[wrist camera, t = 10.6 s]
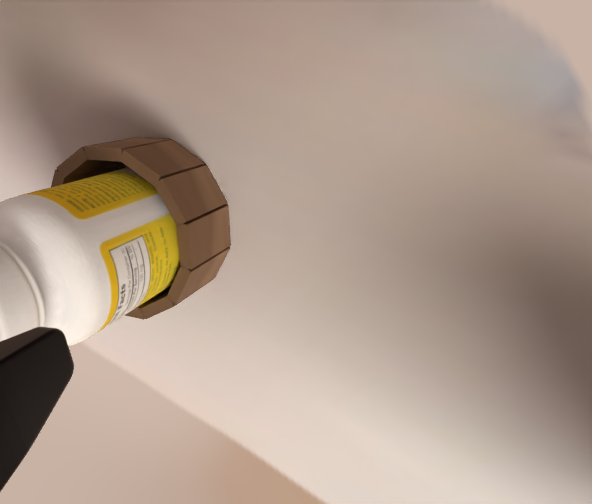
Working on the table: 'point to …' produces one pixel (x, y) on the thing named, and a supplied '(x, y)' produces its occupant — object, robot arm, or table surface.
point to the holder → (177, 198)
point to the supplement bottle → (84, 254)
